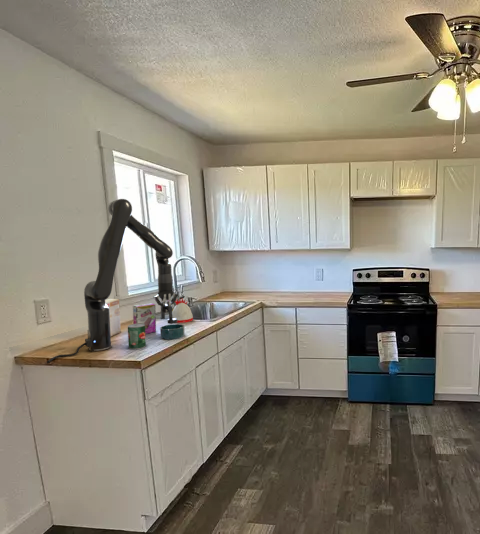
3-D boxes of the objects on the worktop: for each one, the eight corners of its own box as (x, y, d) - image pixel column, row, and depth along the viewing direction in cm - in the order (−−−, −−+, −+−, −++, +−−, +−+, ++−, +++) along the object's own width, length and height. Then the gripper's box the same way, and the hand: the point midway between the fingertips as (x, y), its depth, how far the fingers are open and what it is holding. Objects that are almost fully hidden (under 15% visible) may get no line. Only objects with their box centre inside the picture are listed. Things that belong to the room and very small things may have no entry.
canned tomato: (147, 347, 171) (146, 325, 170) (129, 350, 167) (128, 327, 166) (144, 343, 178) (143, 322, 177) (127, 346, 174) (126, 324, 173)
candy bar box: (137, 336, 192) (136, 306, 191) (133, 334, 195) (132, 305, 194) (156, 331, 201) (155, 303, 199) (152, 330, 204) (151, 302, 203)
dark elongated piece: (178, 322, 190) (178, 306, 189) (169, 324, 187) (169, 308, 186) (167, 318, 202) (166, 302, 201) (158, 319, 198) (157, 304, 198)
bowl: (166, 341, 182) (165, 330, 181) (157, 336, 191) (156, 326, 191) (188, 336, 190) (188, 326, 190) (178, 332, 199) (178, 322, 199)
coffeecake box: (109, 331, 201) (108, 298, 200) (121, 332, 201) (119, 298, 199) (92, 339, 187) (90, 303, 185) (104, 339, 186) (102, 303, 184)
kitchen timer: (170, 319, 233) (169, 297, 232) (192, 317, 238) (191, 295, 237) (171, 323, 220) (170, 300, 219) (193, 321, 225) (192, 298, 224)
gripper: (174, 280, 201) (175, 309, 203) (150, 282, 192) (151, 313, 193) (180, 281, 196) (181, 311, 197) (155, 283, 186) (156, 315, 188)
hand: (166, 312), depth 195 cm, fingers closed on dark elongated piece
